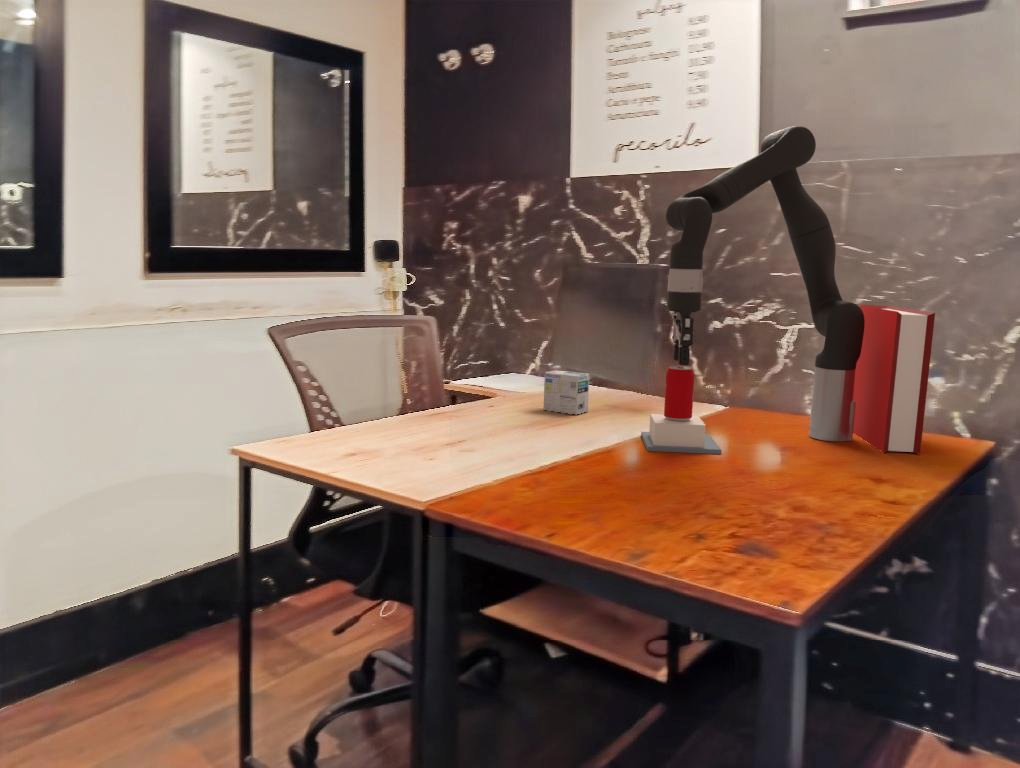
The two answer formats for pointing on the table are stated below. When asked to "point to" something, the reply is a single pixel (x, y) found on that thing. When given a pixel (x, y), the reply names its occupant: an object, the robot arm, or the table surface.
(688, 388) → the beverage can
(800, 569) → the table surface
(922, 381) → the book
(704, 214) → the robot arm
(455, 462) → the table surface
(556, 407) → the light bulb box
